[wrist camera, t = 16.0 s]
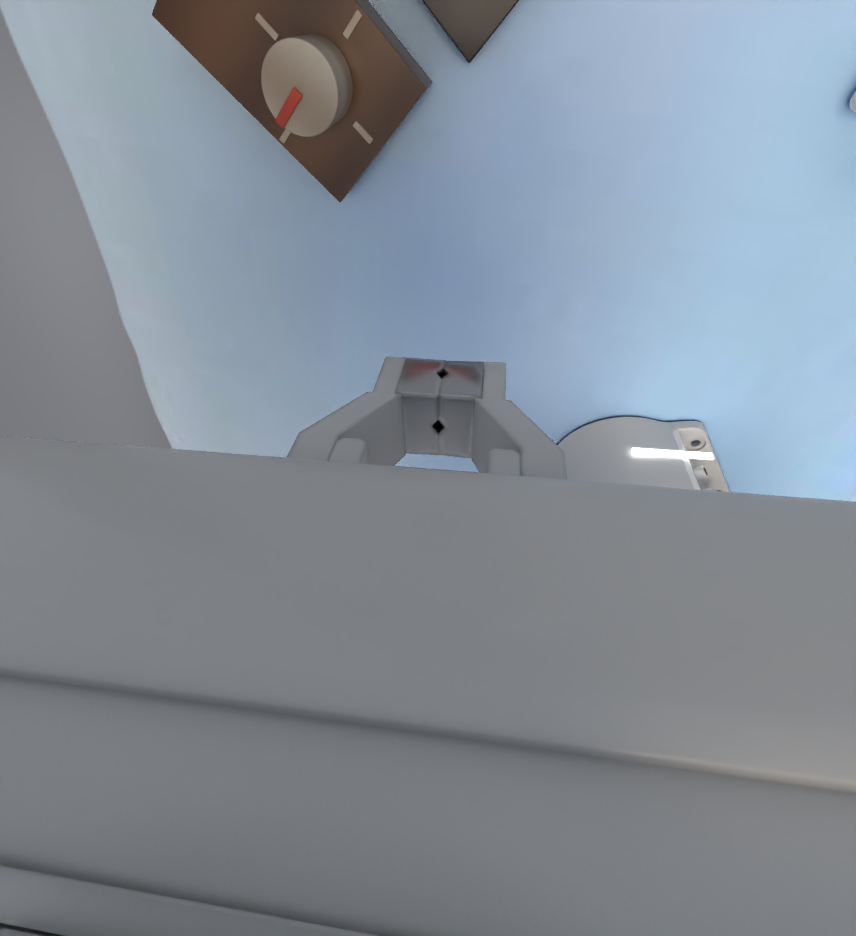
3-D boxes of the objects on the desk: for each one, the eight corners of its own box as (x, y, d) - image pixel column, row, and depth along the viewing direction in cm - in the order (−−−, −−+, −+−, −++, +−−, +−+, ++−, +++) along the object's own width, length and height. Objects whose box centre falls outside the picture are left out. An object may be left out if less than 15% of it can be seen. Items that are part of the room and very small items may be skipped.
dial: (306, 12, 27) (284, 13, 24) (367, 80, 29) (352, 89, 26) (269, 83, 30) (244, 92, 27) (327, 142, 31) (309, 156, 29)
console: (432, 82, 31) (426, 88, 29) (350, 190, 36) (339, 203, 34) (242, -158, 25) (216, -173, 23) (176, 13, 30) (149, 14, 28)
